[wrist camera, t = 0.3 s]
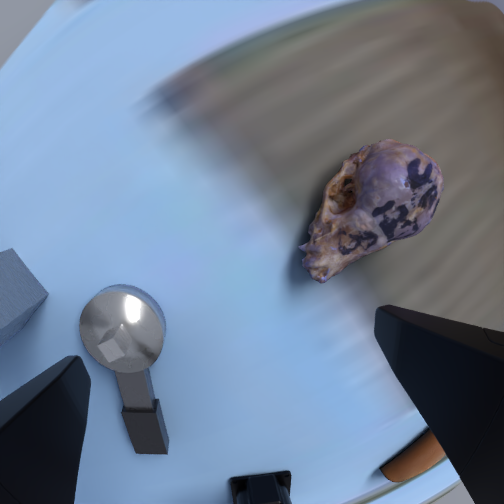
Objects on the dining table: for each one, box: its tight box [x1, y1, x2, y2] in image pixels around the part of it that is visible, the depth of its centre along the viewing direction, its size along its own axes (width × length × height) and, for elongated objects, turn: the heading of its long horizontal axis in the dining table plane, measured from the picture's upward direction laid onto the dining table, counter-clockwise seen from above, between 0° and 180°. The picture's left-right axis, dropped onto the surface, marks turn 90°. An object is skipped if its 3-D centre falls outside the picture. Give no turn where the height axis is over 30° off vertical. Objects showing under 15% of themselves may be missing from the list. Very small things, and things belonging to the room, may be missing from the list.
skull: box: [299, 139, 444, 283], centre depth 21 cm, size 12×8×6 cm, turn 128°
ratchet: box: [79, 284, 169, 454], centre depth 21 cm, size 16×6×4 cm, turn 2°
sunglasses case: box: [380, 429, 446, 482], centre depth 30 cm, size 18×7×7 cm
